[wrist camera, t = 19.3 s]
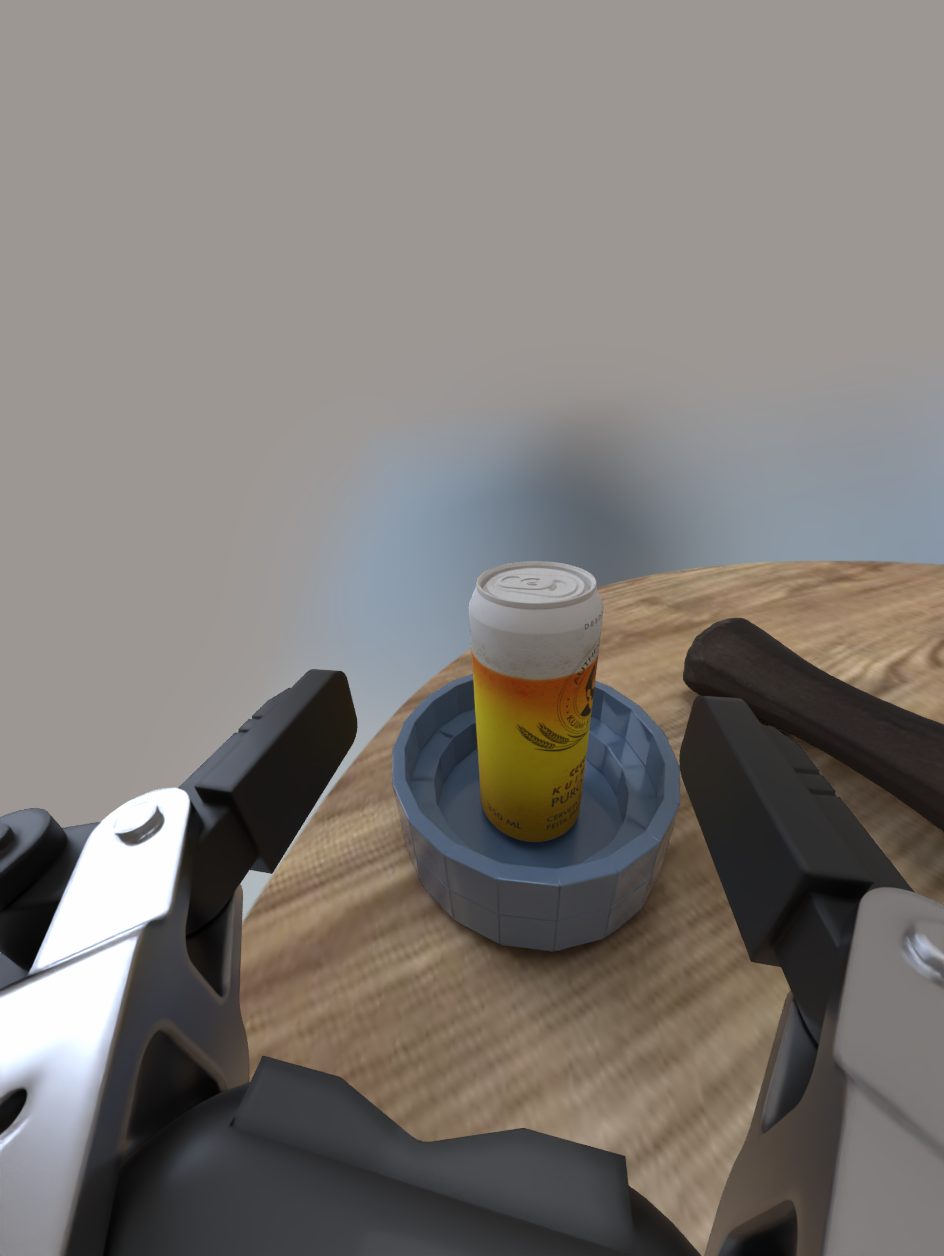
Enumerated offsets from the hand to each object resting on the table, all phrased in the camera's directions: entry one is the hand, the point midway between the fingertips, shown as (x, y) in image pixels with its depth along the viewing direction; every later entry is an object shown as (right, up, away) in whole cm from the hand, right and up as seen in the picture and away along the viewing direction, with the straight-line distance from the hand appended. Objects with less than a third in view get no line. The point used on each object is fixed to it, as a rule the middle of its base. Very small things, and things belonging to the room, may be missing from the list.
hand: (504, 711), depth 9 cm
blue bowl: (+3, -10, +15) cm, 18 cm away
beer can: (+3, -9, +15) cm, 18 cm away
